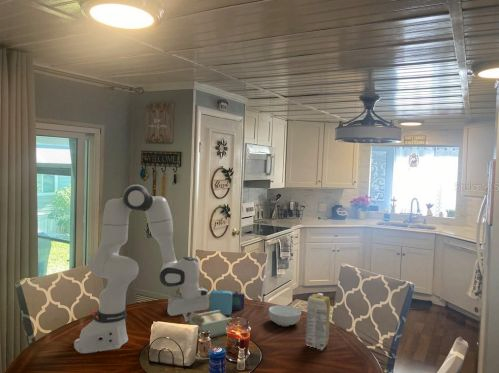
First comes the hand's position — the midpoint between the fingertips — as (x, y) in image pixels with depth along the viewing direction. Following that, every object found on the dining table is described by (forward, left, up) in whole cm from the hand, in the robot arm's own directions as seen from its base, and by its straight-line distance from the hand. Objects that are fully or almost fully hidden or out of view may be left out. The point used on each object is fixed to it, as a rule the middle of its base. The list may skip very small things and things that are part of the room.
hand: (188, 321), depth 186 cm
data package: (+28, +18, -7) cm, 34 cm away
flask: (+39, +20, -7) cm, 45 cm away
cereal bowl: (+50, -10, -8) cm, 52 cm away
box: (+12, 0, -7) cm, 14 cm away
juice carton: (+46, -38, -7) cm, 60 cm away
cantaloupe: (+16, +33, -7) cm, 38 cm away
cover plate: (+12, 0, -2) cm, 12 cm away
